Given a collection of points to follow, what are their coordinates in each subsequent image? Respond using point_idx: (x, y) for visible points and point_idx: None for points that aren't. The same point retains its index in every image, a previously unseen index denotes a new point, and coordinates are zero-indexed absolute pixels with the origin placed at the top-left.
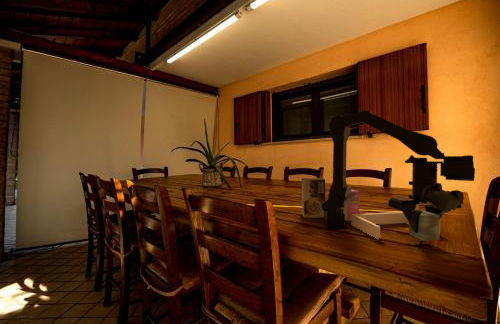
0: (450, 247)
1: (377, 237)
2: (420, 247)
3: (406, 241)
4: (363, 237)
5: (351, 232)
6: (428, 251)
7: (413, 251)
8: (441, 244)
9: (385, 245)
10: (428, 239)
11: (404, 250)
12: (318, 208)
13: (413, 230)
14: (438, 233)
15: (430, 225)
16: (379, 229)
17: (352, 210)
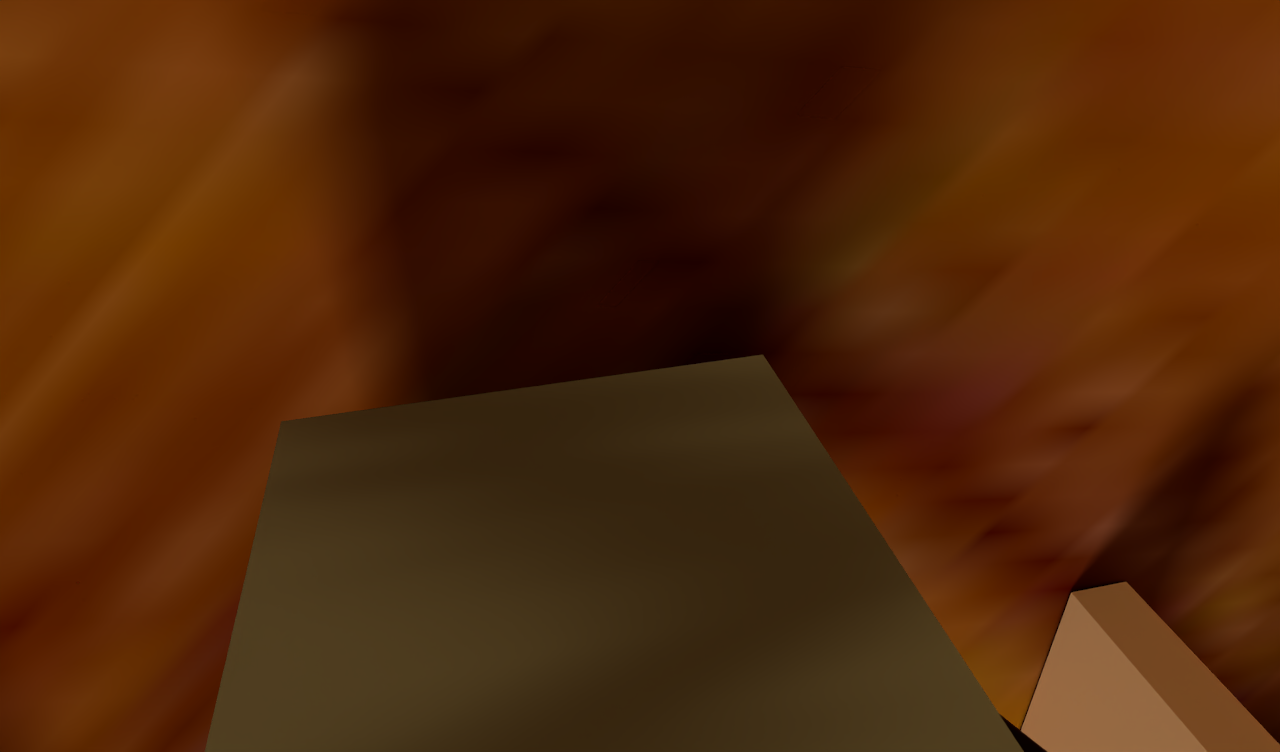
0: (27, 282)
1: (1132, 605)
2: (741, 297)
3: None
4: (1219, 624)
5: None
6: (758, 98)
7: (1049, 122)
8: (145, 435)
9: (1230, 382)
10: (619, 390)
11: (1156, 178)
12: None
13: None
14: (282, 543)
15: (653, 741)
16: (1200, 727)
17: None
